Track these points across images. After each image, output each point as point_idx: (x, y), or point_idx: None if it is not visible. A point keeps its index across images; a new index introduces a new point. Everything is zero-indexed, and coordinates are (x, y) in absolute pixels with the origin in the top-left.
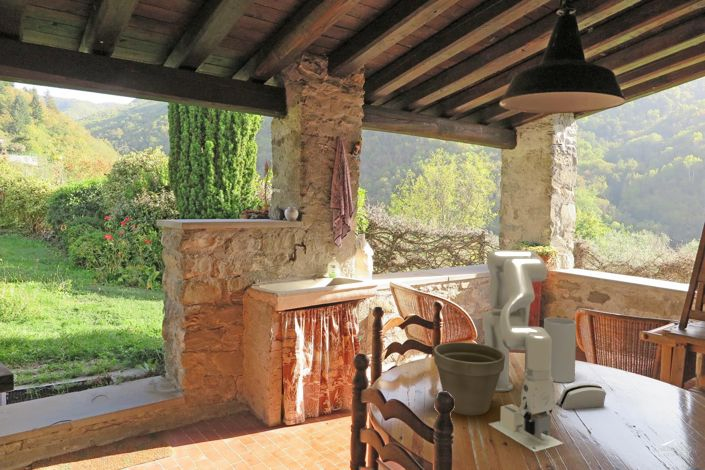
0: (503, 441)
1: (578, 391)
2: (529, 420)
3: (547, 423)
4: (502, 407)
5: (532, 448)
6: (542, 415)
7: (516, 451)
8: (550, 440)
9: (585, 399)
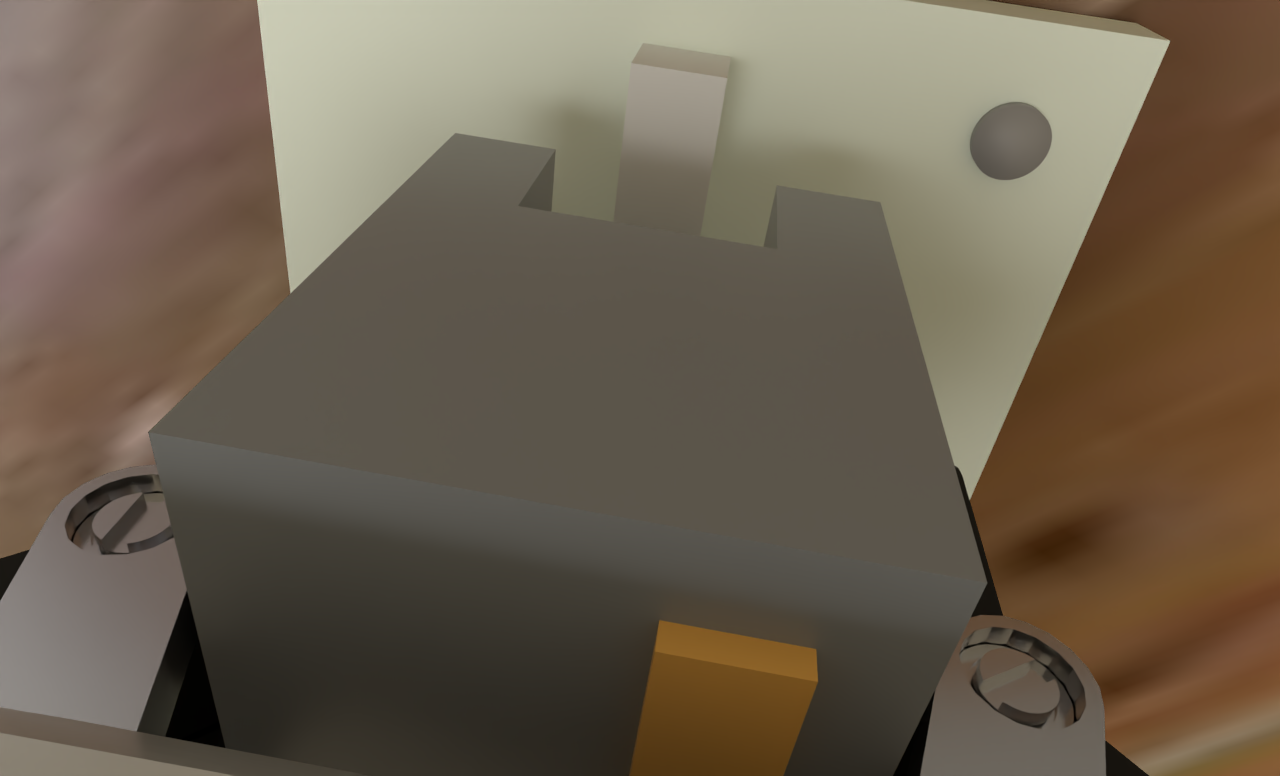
0: (1013, 585)
1: None
2: (1081, 711)
3: (474, 308)
4: None
5: (1039, 160)
6: (475, 643)
7: (1202, 320)
8: (417, 147)
9: None
